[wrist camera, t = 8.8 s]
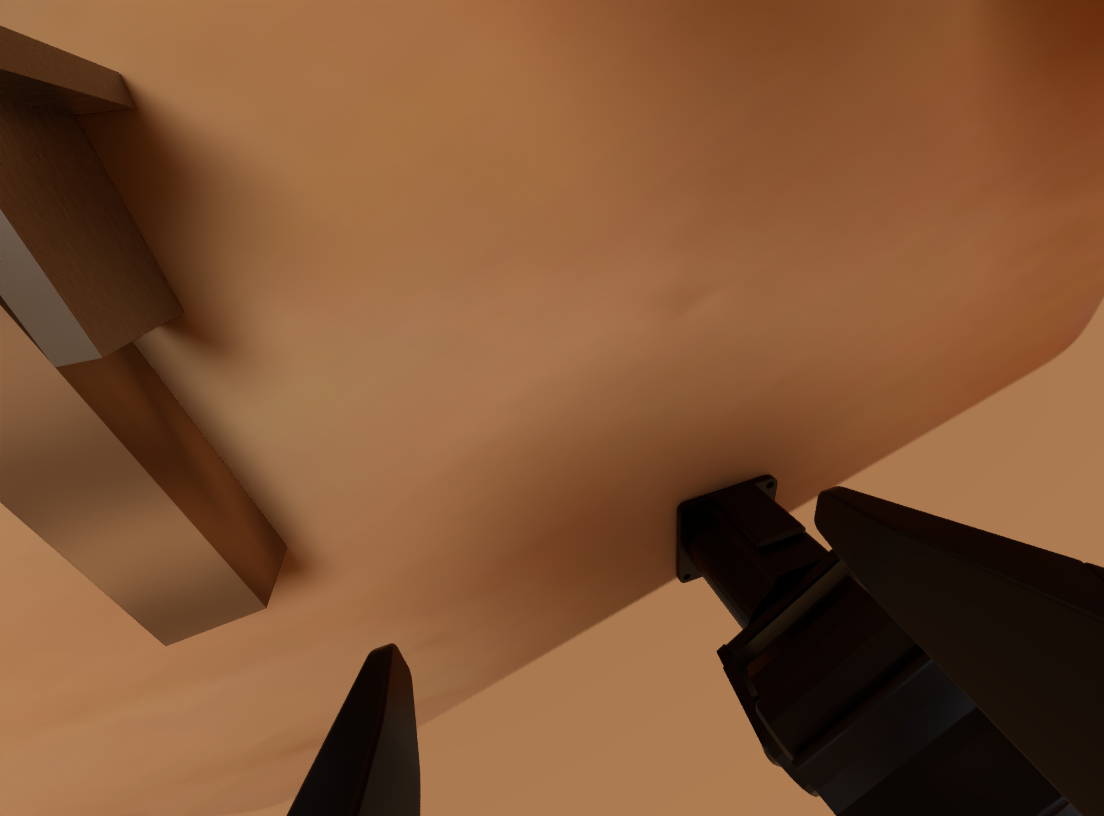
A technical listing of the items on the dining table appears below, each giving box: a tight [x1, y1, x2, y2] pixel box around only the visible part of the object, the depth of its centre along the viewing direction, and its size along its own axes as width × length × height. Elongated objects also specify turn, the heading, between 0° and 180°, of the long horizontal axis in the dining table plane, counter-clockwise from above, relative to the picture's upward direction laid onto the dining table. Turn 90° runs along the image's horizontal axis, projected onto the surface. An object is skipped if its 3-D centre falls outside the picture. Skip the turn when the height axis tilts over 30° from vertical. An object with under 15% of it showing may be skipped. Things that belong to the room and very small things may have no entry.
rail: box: [0, 295, 287, 646], centre depth 14 cm, size 15×4×4 cm, turn 13°
